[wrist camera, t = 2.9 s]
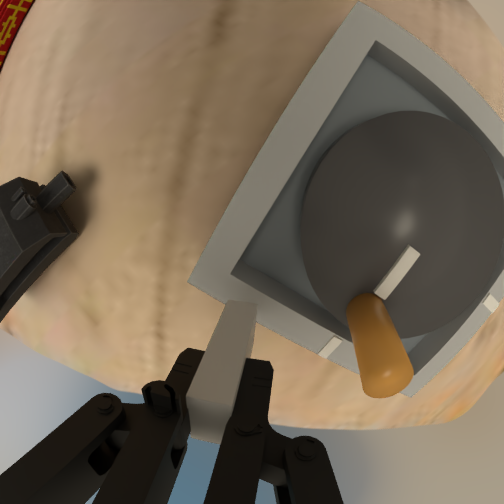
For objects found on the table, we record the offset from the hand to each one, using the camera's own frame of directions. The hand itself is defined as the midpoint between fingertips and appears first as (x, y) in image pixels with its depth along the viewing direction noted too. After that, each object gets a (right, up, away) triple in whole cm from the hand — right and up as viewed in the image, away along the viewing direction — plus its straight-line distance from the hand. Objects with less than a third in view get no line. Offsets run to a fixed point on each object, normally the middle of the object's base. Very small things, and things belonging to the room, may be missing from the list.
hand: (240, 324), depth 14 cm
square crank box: (+11, +6, +4) cm, 13 cm away
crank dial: (+10, +5, +2) cm, 12 cm away
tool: (-23, +4, +12) cm, 26 cm away
